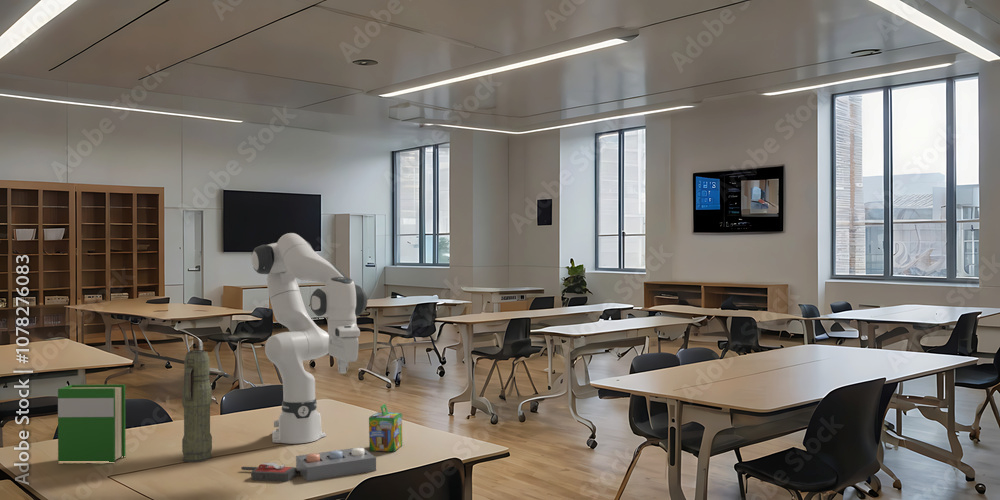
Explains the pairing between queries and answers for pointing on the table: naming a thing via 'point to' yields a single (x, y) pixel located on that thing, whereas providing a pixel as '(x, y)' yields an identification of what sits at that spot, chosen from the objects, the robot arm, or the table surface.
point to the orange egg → (312, 457)
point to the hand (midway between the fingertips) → (342, 373)
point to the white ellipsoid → (357, 451)
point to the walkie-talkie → (272, 472)
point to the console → (335, 465)
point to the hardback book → (91, 422)
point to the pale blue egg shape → (335, 454)
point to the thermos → (196, 407)
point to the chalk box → (385, 431)
